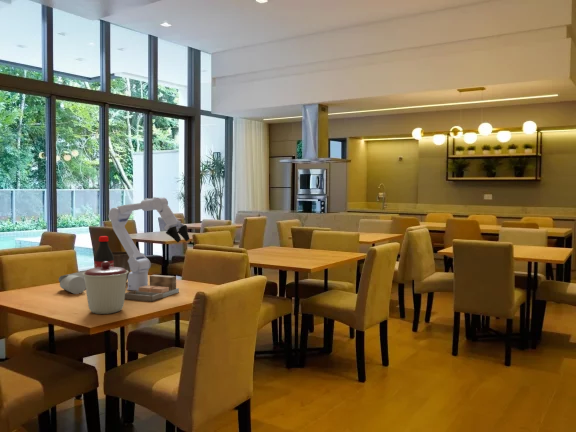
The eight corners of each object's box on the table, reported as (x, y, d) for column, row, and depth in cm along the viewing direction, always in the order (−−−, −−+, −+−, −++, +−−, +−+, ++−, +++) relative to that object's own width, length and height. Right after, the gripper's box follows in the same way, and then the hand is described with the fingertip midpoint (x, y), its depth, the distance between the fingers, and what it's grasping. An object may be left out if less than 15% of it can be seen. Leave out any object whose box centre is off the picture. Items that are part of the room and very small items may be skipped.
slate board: (135, 295, 250) (135, 291, 250) (153, 290, 263) (153, 286, 263) (162, 297, 245) (162, 293, 245) (178, 292, 258) (178, 288, 258)
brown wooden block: (149, 287, 259) (149, 275, 259) (154, 286, 262) (153, 274, 262) (172, 289, 254) (172, 277, 254) (176, 288, 258) (176, 276, 257)
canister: (135, 312, 216) (134, 262, 215) (89, 319, 206) (88, 265, 205) (121, 304, 231) (120, 257, 230) (78, 310, 220) (77, 260, 219)
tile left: (138, 291, 251) (138, 287, 251) (146, 288, 256) (146, 285, 256) (149, 292, 249) (149, 288, 249) (156, 289, 254) (156, 286, 254)
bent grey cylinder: (51, 287, 265) (64, 293, 250) (55, 266, 266) (68, 271, 251) (85, 290, 277) (100, 296, 262) (89, 270, 278) (104, 275, 263)
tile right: (150, 292, 248) (150, 288, 248) (158, 289, 254) (158, 286, 254) (161, 293, 246) (161, 289, 246) (168, 290, 252) (168, 287, 252)
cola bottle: (96, 305, 229) (94, 237, 227) (93, 301, 237) (92, 235, 235) (116, 303, 233) (115, 236, 231) (113, 299, 240) (111, 234, 239)
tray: (123, 298, 243) (123, 293, 243) (134, 295, 250) (134, 290, 250) (152, 301, 237) (152, 296, 237) (162, 298, 245) (162, 292, 245)
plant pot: (98, 283, 283) (98, 253, 282) (121, 279, 295) (121, 250, 294) (116, 286, 274) (115, 255, 273) (139, 281, 286) (138, 252, 286)
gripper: (166, 213, 248) (181, 236, 246) (182, 212, 262) (197, 234, 259) (156, 222, 250) (170, 245, 248) (173, 221, 264) (187, 243, 261)
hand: (183, 240), depth 254 cm, fingers open, 7 cm apart
